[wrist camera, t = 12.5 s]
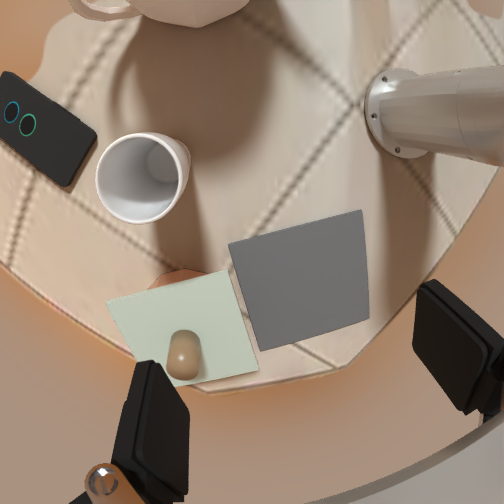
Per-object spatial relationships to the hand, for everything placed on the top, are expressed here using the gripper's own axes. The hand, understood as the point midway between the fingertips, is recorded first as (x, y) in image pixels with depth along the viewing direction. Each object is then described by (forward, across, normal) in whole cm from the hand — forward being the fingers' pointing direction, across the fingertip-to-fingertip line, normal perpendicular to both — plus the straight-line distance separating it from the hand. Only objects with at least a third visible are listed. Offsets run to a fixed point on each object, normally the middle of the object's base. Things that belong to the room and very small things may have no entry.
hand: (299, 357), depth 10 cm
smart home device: (+29, +24, -18) cm, 41 cm away
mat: (+28, -6, +15) cm, 33 cm away
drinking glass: (+28, +7, -6) cm, 30 cm away
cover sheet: (+22, +11, +14) cm, 28 cm away
